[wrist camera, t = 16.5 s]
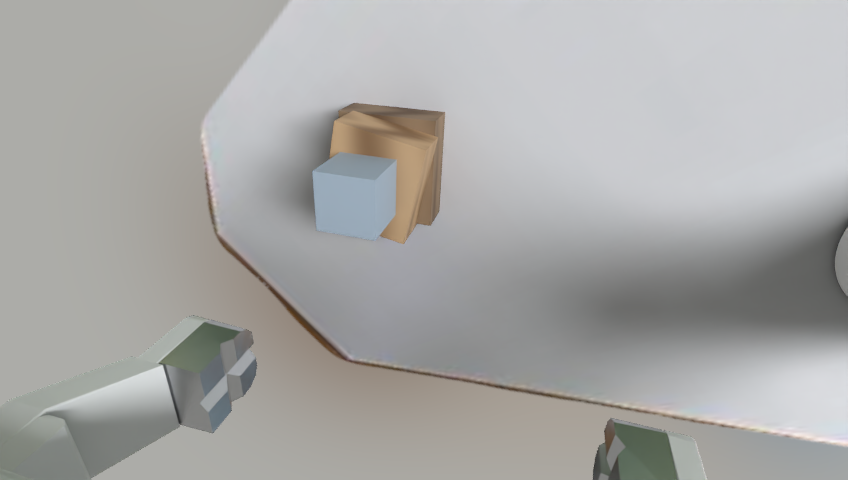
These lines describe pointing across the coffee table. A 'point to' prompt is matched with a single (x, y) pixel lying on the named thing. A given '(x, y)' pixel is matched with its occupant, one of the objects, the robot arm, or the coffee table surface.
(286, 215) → the coffee table surface
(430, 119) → the walnut block
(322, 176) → the slate cube
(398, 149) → the teak block
